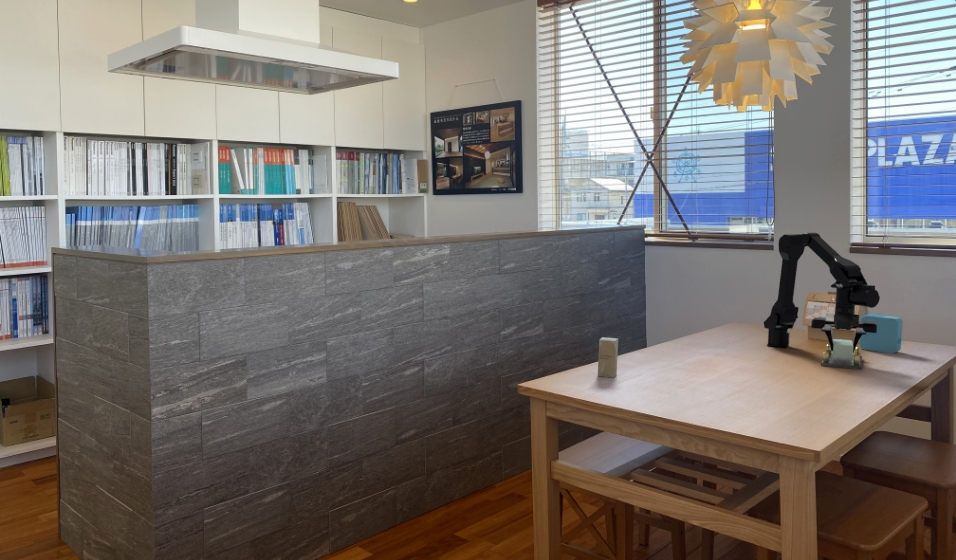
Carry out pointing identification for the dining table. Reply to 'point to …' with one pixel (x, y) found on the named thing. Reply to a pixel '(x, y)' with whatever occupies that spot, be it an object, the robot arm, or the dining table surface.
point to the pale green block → (842, 348)
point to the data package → (883, 334)
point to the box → (608, 357)
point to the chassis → (842, 360)
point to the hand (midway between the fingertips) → (842, 351)
